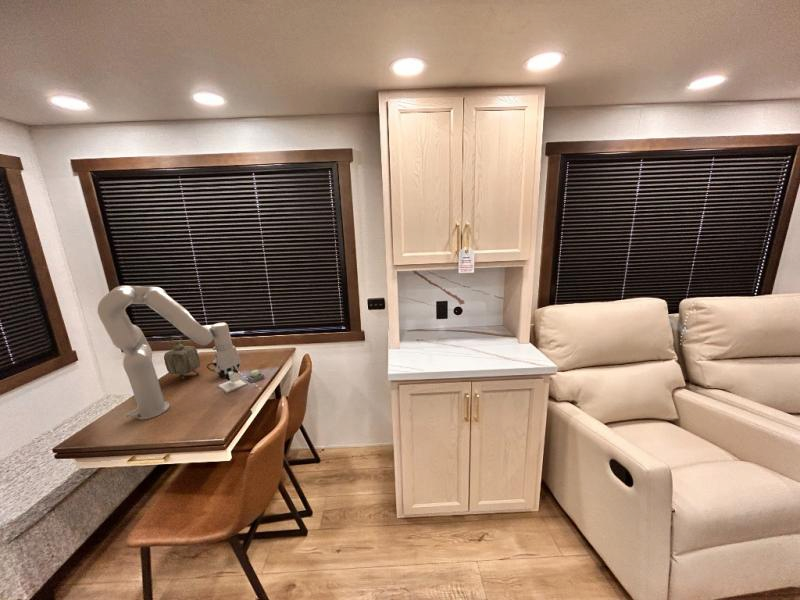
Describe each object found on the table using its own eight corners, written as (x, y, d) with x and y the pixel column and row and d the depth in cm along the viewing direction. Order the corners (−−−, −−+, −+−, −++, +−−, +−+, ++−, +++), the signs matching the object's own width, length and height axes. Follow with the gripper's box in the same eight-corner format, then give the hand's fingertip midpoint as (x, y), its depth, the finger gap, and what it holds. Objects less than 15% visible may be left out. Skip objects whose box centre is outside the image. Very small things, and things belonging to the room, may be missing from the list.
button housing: (252, 382, 165) (252, 379, 164) (247, 379, 169) (246, 376, 168) (264, 377, 169) (263, 374, 169) (259, 374, 174) (258, 371, 173)
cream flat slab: (226, 393, 155) (226, 392, 155) (216, 386, 164) (216, 385, 164) (248, 384, 163) (247, 383, 163) (237, 377, 172) (237, 376, 172)
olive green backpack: (203, 373, 181) (193, 334, 174) (191, 381, 172) (180, 339, 166) (181, 373, 182) (170, 334, 176) (168, 381, 173) (156, 340, 167)
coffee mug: (237, 371, 180) (233, 355, 177) (227, 378, 172) (224, 362, 169) (218, 371, 181) (215, 356, 179) (208, 378, 173) (204, 362, 170)
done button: (253, 378, 166) (252, 373, 165) (250, 376, 169) (249, 371, 168) (260, 375, 169) (259, 370, 168) (257, 373, 171) (256, 369, 171)
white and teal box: (233, 382, 157) (231, 376, 156) (225, 379, 164) (223, 373, 164) (240, 379, 159) (238, 373, 159) (232, 376, 167) (230, 370, 166)
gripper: (209, 353, 149) (218, 387, 154) (243, 342, 161) (250, 373, 166) (204, 350, 154) (212, 382, 158) (237, 339, 166) (244, 369, 170)
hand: (232, 377), depth 162 cm, fingers closed on white and teal box, 3 cm apart
